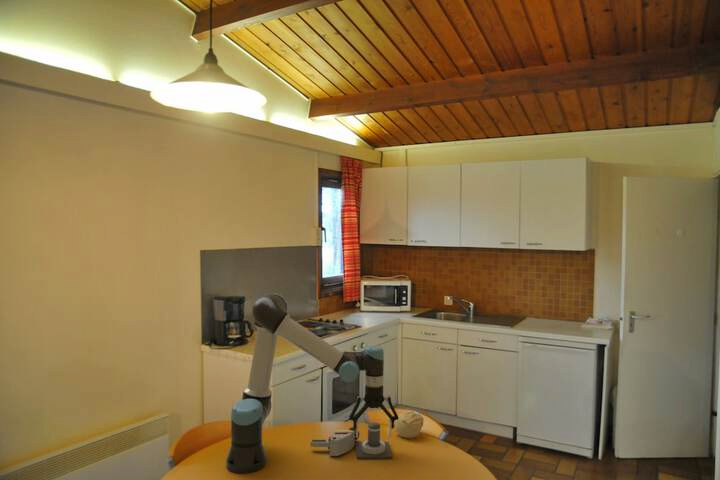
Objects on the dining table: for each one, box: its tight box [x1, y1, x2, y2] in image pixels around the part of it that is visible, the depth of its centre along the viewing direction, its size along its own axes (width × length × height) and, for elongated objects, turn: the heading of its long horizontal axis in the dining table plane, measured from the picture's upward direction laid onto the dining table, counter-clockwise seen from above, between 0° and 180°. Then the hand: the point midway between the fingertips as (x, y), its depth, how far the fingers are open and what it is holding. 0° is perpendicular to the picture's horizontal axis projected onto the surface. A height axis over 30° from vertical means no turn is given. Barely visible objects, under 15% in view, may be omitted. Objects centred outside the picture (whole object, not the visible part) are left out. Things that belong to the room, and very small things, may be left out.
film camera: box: [310, 427, 360, 457], centre depth 208 cm, size 7×19×15 cm
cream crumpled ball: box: [394, 410, 424, 439], centre depth 221 cm, size 12×12×11 cm
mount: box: [355, 439, 393, 460], centre depth 204 cm, size 14×14×3 cm
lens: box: [367, 422, 381, 448], centre depth 204 cm, size 5×5×10 cm
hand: (373, 436), depth 204 cm, fingers open, 13 cm apart
